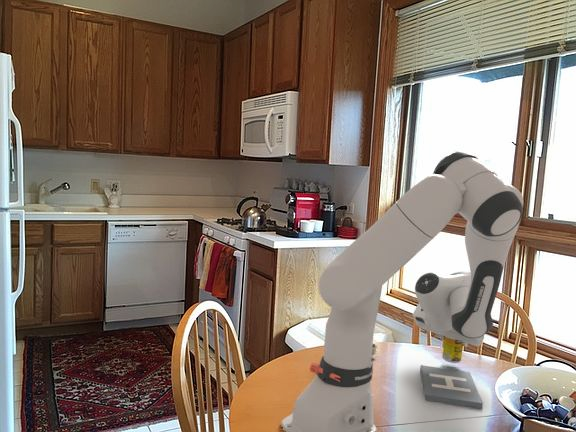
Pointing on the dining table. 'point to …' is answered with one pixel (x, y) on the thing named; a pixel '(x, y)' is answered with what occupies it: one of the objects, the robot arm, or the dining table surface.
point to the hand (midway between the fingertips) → (454, 341)
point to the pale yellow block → (374, 347)
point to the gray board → (450, 387)
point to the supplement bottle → (452, 350)
